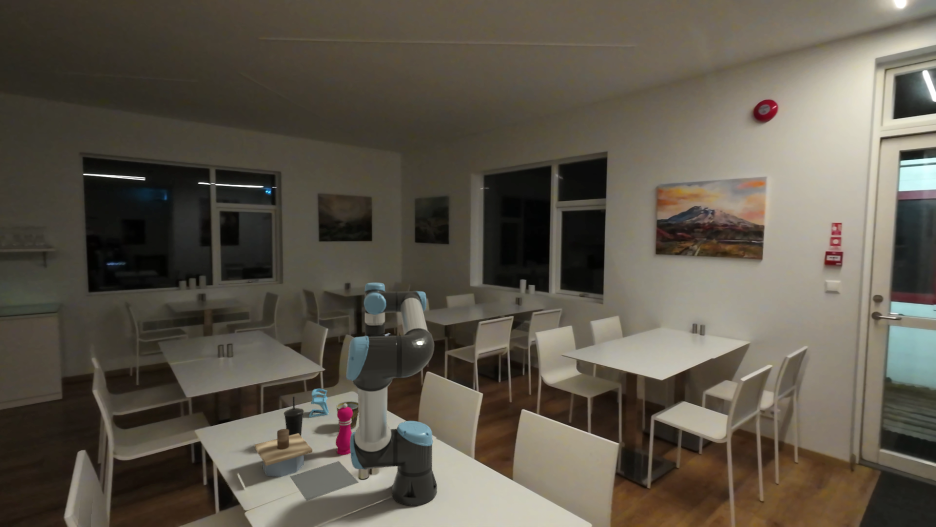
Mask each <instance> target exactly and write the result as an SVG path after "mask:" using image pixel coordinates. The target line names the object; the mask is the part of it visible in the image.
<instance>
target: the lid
mask: <svg viewBox="0 0 936 527" xmlns="http://www.w3.org/2000/svg"><path fill="white" fill-rule="evenodd" d="M276 432H277V433H276V439H272V440H271V439H270V440H267V441H263V442H260V443H256V444H254V449H255V451H256V452H257V454H258V455H259V458H261V461H262V463H263V462H264V464H265V465H266V466H267V465H271V464H274V463H278V462H281V461H284V460H288V459H291V458H295V457H298V456H302V455H304V456H305V455H308V454H311V453H313V448H312V447H311V446H310V445H309V444H308V443H307V442H306V440H305V439H304V437H302V435H301V436H300V434H299V433H298V434H294V435H290V436H289V430H288V429H286V428H281V429H278V430H277V431H276Z"/></svg>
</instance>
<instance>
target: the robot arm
mask: <svg viewBox="0 0 936 527" xmlns="http://www.w3.org/2000/svg"><path fill="white" fill-rule="evenodd" d="M363 307H364V323H365V324H364V336H356V337H353V338H351V340H350V341H349V346H348V354H347V362H346V371H345V372H346V375H345V376H346V380H348V381H352V384H353V385H354V386H355V387H356V389H357V402H358V410H359V412H358V427H357V428H356V429H355V431H353V432H352V434H351V437H350V452H351V453H350V460H351V464H352V467H353V468H354V469H356V470H373V469H380V468H381V469H382V468H389V467H390V468H391V467H392V468H393V467H397V468H396V469H397V470H396V471H397V472H396V474H395V477H394V480H393V484H392V486H391V488H392V489H391V494H392V499H393V500H394V501H395V502H397V503H399V504H401V505H405V506H413V507H414V506H420V505H424V504H428V503H430V502H431V501H433V500H434V498H435V497H436V496H437V493H438V484H437V483H438V482H437V480H436V478H435V475H434V470H433V443H434V440H433V431H432V429H431V427H429V426H428V425H427V424H426V423H424V422H420V421H416V420H407V421H403V422H400V423H399V424H398V425H397V428H391V427H390V426H389V425H388V387H389V386H390V385H391V383H392V382H393V379H396V378H397V379H399V378H400V379H401V378H408V377H409V378H410V377H412V376H414V375H416V374H418V373H419V372H421V371H422V370H423V369H424V368H425V367H426V366H427V365H428V363H429V362H430V361H431V359H432V357H433V354H434V351H435V342H434V337H433V335H432V333H431V332H430V331H429V330H428V326H427V323H426V318H425V315H424V312H425V311H426V309H427V295H426V292H424V291H421V290H420V291H418V290H413V291H409V290H408V291H386V287H385V284H384V283H382V282H368V283H366V284H365V286H364V299H363ZM386 313H400V314H401V324H402V333H403V335H393V334H392V333H389V332H387V333H386V334H385V332H386V331H385V330H386V329H385V328H386V324H385V322H386Z"/></svg>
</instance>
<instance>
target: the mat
mask: <svg viewBox="0 0 936 527" xmlns="http://www.w3.org/2000/svg"><path fill="white" fill-rule="evenodd" d="M289 478H290V479H291V480H292V481H293V483H294V485H295V486H296V488H298V490H299V491H300V493H301V494H302V496H303V497H304V499H305V500H306V501H311V500H313V499H315V498H318V497H322V496H324V495H327V494H330V493H333V492H336V491H338V490H341V489H345V488H347V487H350V486H353V485H355V484H358V483H359V481H358V480H357V479H356V477H355V476H354V475H353V474H352V473H351V472H350V471H349V470H348V469H347V468H346V467H345V466H344V465H343V464H342V463H341V461H340V460H337V461H335V462H331V463H329V464H325V465H321V466H318V467H315V468H313V469H310V470H306V471H303V472H299V473H295V474H293V475H291V476H289Z"/></svg>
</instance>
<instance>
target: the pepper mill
mask: <svg viewBox="0 0 936 527" xmlns="http://www.w3.org/2000/svg"><path fill="white" fill-rule="evenodd" d="M336 412H337V411H336ZM352 415H353V411H352V409H351V408H350V407H347V404H346V403H345V404H343V407H342V408H340V409H339V410H338V412H337V413H336V416H337V419H338V420H337V421H338V425H339V431H338V433H337V436H336V439H335V446H336V447H337V448H336V453H337V454H338V455H340V456H347V455H351V452H350V437H351V434H352V433H353V432H352V429H351V428H350V424H351V422H352V421H351V420H352V419H351V417H352Z"/></svg>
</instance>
